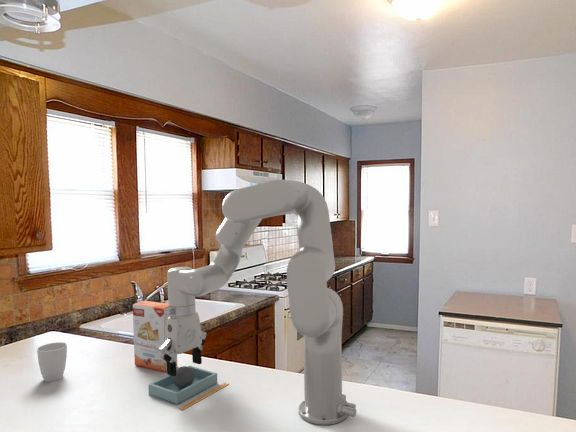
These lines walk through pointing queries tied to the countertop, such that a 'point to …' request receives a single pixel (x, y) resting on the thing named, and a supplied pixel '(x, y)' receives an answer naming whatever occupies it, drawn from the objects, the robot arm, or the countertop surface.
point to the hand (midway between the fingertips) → (184, 369)
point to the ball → (183, 377)
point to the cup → (52, 360)
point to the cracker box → (150, 334)
